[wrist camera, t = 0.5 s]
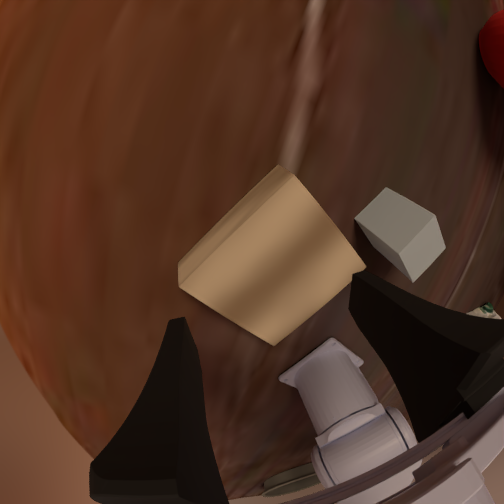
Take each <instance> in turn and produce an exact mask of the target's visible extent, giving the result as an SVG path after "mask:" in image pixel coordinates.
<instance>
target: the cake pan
mask: <svg viewBox="0 0 504 504" xmlns="http://www.w3.org/2000/svg"><path fill="white" fill-rule="evenodd" d="M319 483H321V482H320V480H319V478H318V476H317V474H316V472H315V470H314V467H313V464H312V463H309V464H306V465H302V466H299V467H296V468H293V469H290V470H288V471H285V472H282V473H280V474H277V475H275V476H273V477H271V478H269V479H267V480H266V481H265V482H264V492H263V493H262V496H263V497H274V496H281V495H285V494H289V493H293V492H297V491H300V490H303V489H306V488H309V487H311V486H314V485H317V484H319Z"/></svg>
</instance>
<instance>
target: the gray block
mask: <svg viewBox="0 0 504 504" xmlns="http://www.w3.org/2000/svg"><path fill="white" fill-rule="evenodd" d="M354 219H355V220H356V222H357V223H358V225H359V226H360V228H361V229H362V231H363V232H364V234H365V235H366V237H367V238H368V240H369V241H370V243H371V244H372V246H373V247H374V248H375V249H377V250H378V251H379V252H380V253H381V254H382V255H383V256H384V257H386V258H387V259H388V260H389V261H390V262H391V263H392V264H393V265H395V266H396V267H397V268H398V269H399V270H400V271H401V272H402V273H403V274H404V275H405V276H407V277H408V278H409V279H410V280H411V281H412V282H414V281H415V280H416V279H417V278H418V277H419V276H420V275H421V274H422V273H423V272H424V271H425V270H426V269H427V268H428V267H429V266H430V265H431V264H432V263H433V261H434V260H435V259H436V258H437V257H438V256H439V255H440V254H441V253H442V252H443V250H444V249H445V244H444V241H443V238H442V234H441V231H440V228H439V225H438V222H437V219H436V216H435V215H434V214H433V213H431V212H429V211H428V210H426V209H424V208H423V207H421V206H419V205H417V204H416V203H414V202H412V201H410V200H409V199H407V198H405V197H403V196H401V195H400V194H398V193H396V192H394V191H392V190H390V189H388V188H385V189H384V190H383V191H382V192H381V193H380V194H379V195H378V196H377V197H376V198H375V199H374V200H373V201H372V202H371V203H370V204H369V205H368V206H367V207H366V208H364V209H363V210H362V211H361V212H360V213H359V214H358V215H357V216H356V217H355V218H354Z"/></svg>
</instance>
